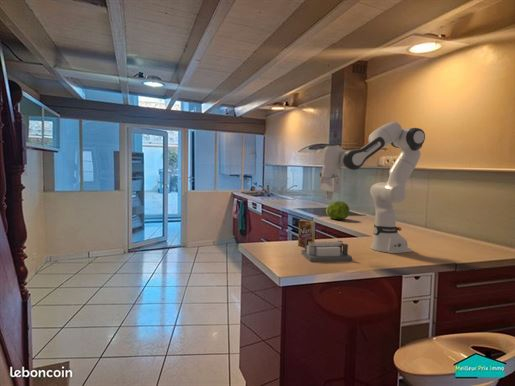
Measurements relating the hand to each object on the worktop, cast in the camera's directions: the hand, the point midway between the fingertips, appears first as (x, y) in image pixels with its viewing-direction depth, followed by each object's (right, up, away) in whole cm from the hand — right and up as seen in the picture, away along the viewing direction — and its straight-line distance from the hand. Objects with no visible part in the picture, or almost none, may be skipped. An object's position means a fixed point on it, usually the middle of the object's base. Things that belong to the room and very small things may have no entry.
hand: (329, 199), depth 175 cm
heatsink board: (-4, -30, -9) cm, 31 cm away
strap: (-4, -23, -10) cm, 26 cm away
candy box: (-11, -28, +13) cm, 33 cm away
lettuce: (+33, -21, +119) cm, 125 cm away
